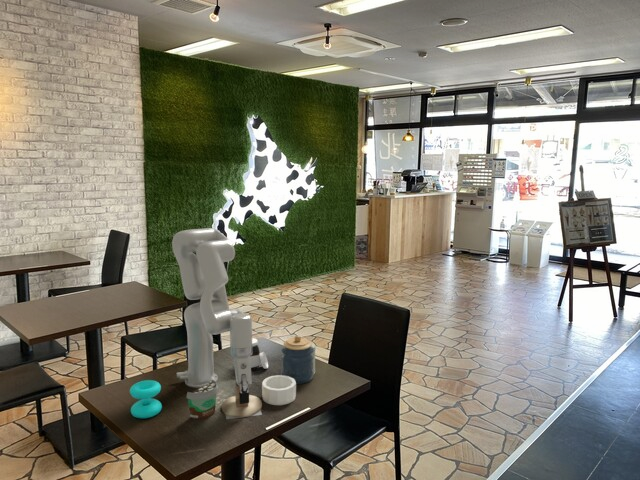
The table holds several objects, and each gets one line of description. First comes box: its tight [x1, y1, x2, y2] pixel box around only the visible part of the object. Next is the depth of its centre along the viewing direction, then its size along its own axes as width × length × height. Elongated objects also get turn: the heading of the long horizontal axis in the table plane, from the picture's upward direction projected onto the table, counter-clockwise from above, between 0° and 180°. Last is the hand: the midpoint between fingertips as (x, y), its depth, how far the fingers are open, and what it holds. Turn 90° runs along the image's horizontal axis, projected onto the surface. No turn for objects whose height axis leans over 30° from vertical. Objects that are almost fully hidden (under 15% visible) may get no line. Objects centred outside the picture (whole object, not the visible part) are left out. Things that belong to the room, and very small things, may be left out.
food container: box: [185, 380, 219, 420], centre depth 163 cm, size 12×6×10 cm, turn 148°
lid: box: [221, 386, 263, 418], centre depth 168 cm, size 14×14×7 cm
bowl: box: [261, 374, 297, 406], centre depth 176 cm, size 12×12×6 cm
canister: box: [280, 334, 315, 385], centre depth 192 cm, size 13×13×18 cm
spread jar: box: [250, 337, 269, 371], centre depth 201 cm, size 12×11×12 cm
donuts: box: [129, 379, 163, 419], centre depth 164 cm, size 10×10×10 cm
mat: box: [222, 395, 263, 420], centre depth 168 cm, size 12×14×1 cm
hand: (242, 396), depth 167 cm, fingers open, 9 cm apart
